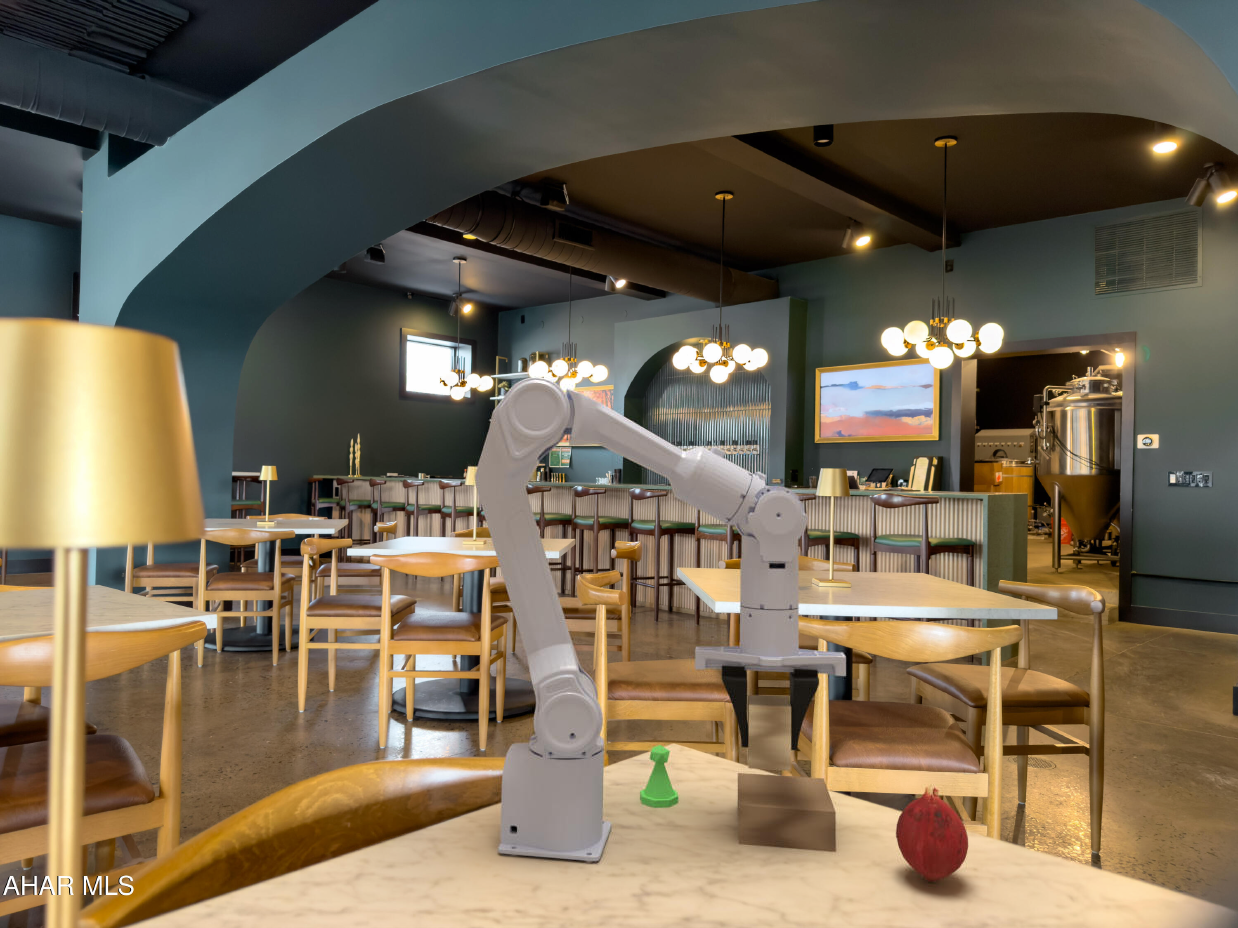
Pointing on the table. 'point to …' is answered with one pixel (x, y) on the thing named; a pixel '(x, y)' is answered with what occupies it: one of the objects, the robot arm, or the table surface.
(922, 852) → the onion
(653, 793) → the game piece
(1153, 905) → the table surface
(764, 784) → the walnut block
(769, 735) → the maple block
